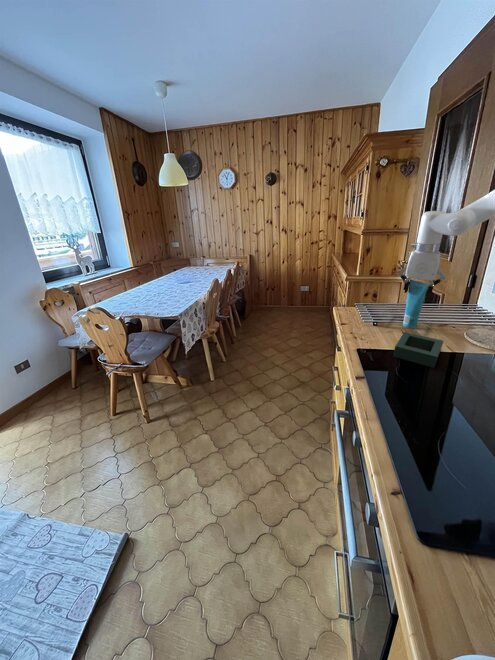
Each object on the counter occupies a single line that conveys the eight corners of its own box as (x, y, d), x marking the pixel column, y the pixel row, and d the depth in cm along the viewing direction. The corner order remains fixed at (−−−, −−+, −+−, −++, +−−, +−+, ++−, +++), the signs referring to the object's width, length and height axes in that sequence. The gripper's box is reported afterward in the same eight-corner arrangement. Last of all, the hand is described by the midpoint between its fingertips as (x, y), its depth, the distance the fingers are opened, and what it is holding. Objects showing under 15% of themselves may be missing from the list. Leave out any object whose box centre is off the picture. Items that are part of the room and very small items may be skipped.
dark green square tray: (439, 352, 100) (443, 340, 98) (433, 369, 92) (437, 356, 89) (401, 343, 107) (404, 331, 105) (392, 358, 99) (395, 346, 96)
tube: (421, 326, 117) (432, 282, 108) (416, 330, 114) (427, 285, 105) (402, 321, 122) (412, 278, 113) (397, 325, 119) (406, 281, 110)
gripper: (398, 247, 106) (390, 292, 114) (454, 251, 96) (441, 300, 104) (403, 244, 111) (395, 287, 119) (457, 247, 101) (444, 294, 109)
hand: (416, 293), depth 111 cm, fingers closed on tube, 7 cm apart
